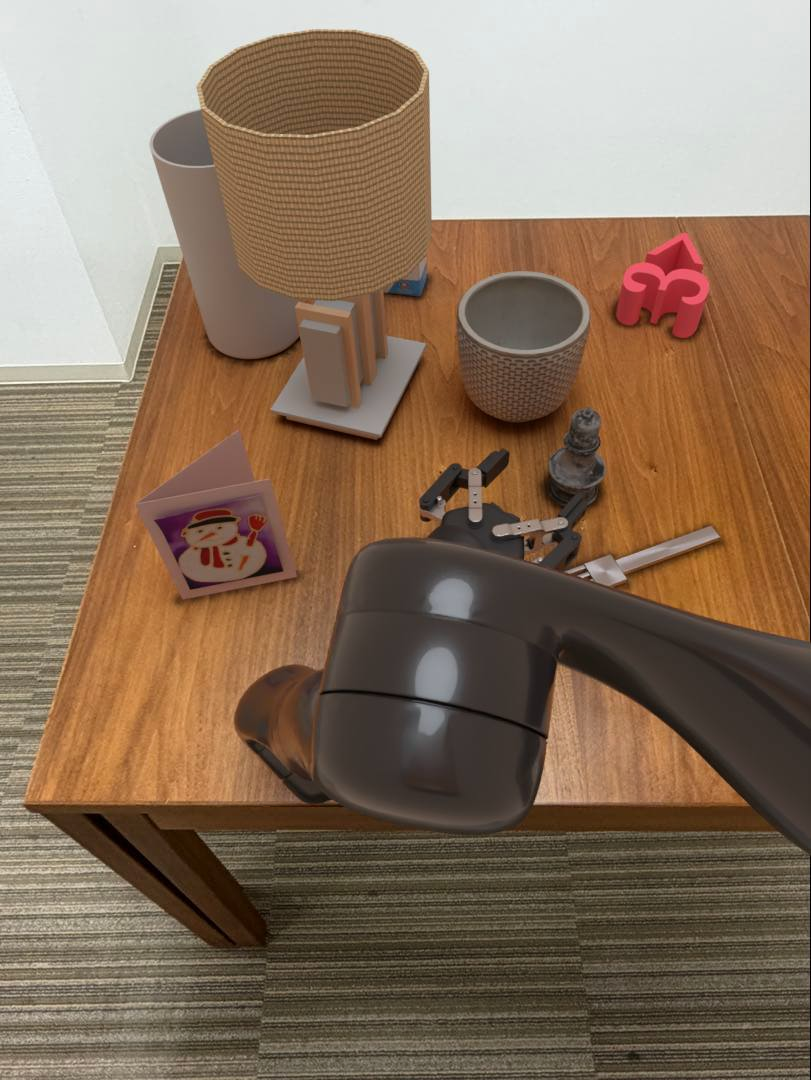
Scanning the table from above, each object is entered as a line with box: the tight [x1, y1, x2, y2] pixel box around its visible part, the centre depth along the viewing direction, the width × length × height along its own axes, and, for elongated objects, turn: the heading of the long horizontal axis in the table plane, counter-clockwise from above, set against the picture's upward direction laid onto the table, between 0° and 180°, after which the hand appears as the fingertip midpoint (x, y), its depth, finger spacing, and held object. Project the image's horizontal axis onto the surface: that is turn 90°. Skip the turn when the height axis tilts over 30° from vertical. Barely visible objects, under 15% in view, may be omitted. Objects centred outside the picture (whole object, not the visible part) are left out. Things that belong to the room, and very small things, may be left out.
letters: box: [615, 232, 710, 339], centre depth 101 cm, size 14×10×5 cm
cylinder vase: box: [149, 108, 303, 360], centre depth 93 cm, size 12×12×25 cm
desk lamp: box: [195, 28, 433, 441], centre depth 81 cm, size 20×20×35 cm
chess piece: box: [547, 406, 607, 507], centre depth 80 cm, size 6×6×12 cm
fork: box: [563, 525, 721, 588], centre depth 79 cm, size 19×3×1 cm, turn 111°
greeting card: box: [134, 428, 298, 600], centre depth 75 cm, size 11×7×15 cm, turn 102°
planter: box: [456, 270, 592, 424], centre depth 88 cm, size 14×14×13 cm
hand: (543, 476), depth 75 cm, fingers open, 8 cm apart
